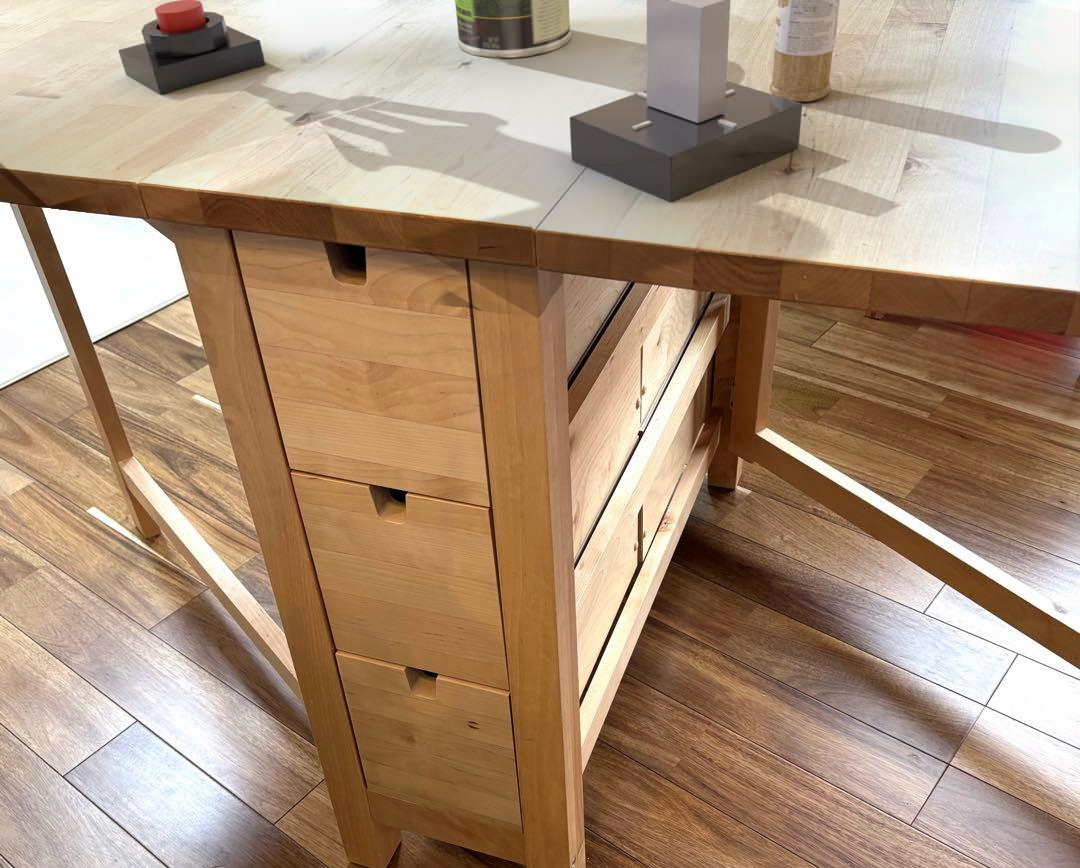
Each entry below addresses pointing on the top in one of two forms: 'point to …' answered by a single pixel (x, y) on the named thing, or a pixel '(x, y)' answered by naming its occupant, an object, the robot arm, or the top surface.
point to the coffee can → (512, 27)
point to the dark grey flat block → (684, 141)
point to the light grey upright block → (687, 57)
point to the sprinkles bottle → (804, 48)
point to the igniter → (190, 55)
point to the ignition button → (180, 15)
